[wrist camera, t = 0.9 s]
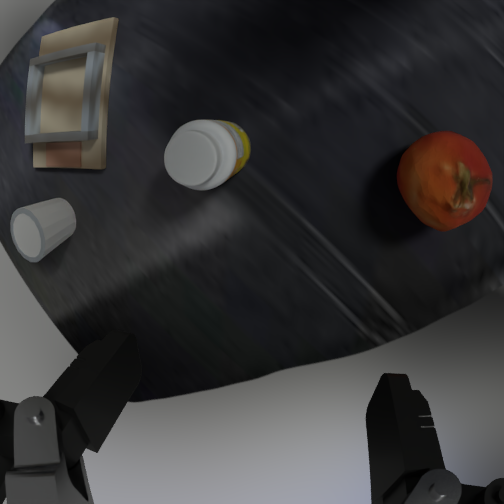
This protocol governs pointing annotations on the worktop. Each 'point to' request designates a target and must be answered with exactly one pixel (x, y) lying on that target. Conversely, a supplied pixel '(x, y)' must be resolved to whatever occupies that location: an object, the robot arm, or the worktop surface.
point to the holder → (71, 96)
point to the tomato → (444, 180)
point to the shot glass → (42, 227)
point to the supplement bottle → (206, 153)
